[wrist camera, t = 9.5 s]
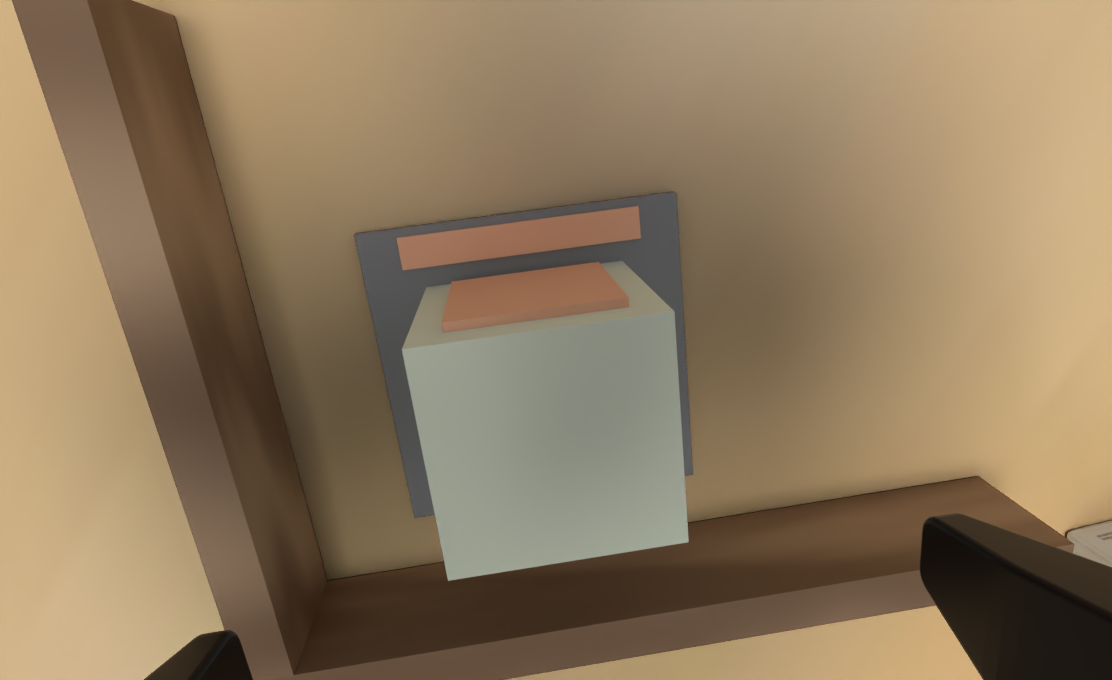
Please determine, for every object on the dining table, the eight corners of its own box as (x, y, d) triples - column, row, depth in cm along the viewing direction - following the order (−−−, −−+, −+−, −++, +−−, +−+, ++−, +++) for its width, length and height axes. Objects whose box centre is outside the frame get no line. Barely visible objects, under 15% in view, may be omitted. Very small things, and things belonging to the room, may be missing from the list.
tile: (690, 469, 19) (694, 476, 19) (415, 512, 19) (414, 520, 18) (673, 191, 17) (677, 193, 16) (356, 233, 16) (353, 235, 16)
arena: (975, 509, 21) (1068, 582, 17) (264, 626, 19) (218, 728, 16) (1030, -79, 16) (1176, -136, 12) (76, 26, 14) (-48, -5, 11)
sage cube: (621, 252, 17) (674, 301, 12) (636, 436, 18) (688, 542, 14) (424, 279, 17) (399, 339, 12) (458, 463, 18) (448, 580, 13)
